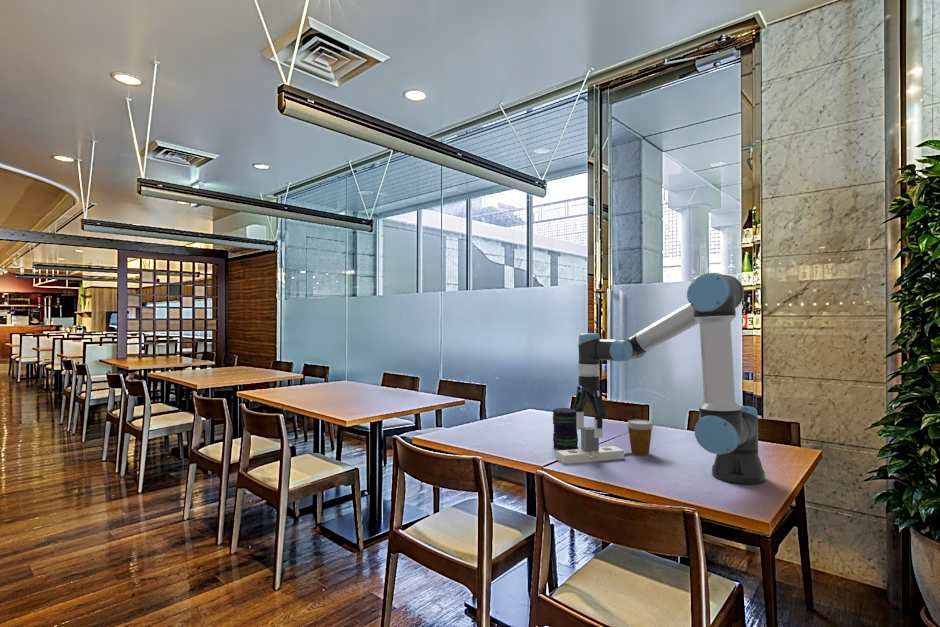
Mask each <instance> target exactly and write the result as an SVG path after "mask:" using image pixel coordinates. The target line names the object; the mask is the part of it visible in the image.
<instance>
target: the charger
mask: <svg viewBox="0 0 940 627" xmlns="http://www.w3.org/2000/svg"><path fill="white" fill-rule="evenodd" d="M599 439H600V437H599V438H595V437H594V426H586V427H585V426H584V427H582V428H581V429H580V449H582V450H584V451H586V452H588V453H590V456H592V451H599V446H600V445H599V444H600V441H599Z"/></svg>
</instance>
